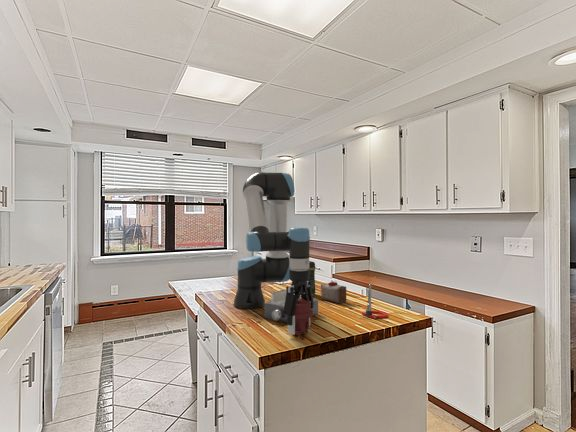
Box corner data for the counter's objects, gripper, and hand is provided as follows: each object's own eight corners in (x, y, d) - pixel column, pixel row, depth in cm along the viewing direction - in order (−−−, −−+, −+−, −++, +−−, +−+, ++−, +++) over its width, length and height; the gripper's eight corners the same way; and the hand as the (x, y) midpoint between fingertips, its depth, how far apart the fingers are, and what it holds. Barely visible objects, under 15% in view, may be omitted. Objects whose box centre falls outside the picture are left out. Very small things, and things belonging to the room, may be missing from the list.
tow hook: (376, 312, 149) (360, 314, 144) (377, 281, 149) (361, 283, 144) (392, 317, 141) (375, 320, 136) (393, 285, 141) (376, 286, 136)
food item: (318, 299, 171) (318, 280, 171) (328, 297, 176) (328, 278, 176) (338, 304, 160) (338, 284, 160) (348, 302, 166) (348, 282, 166)
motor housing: (260, 319, 137) (260, 296, 137) (288, 308, 154) (288, 287, 154) (291, 326, 128) (291, 302, 128) (318, 313, 145) (318, 292, 145)
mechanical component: (314, 329, 125) (310, 338, 115) (288, 327, 127) (283, 336, 117) (314, 296, 125) (310, 303, 115) (288, 295, 127) (283, 302, 117)
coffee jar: (317, 294, 182) (317, 261, 182) (306, 296, 177) (306, 262, 177) (307, 291, 189) (307, 259, 190) (296, 293, 185) (296, 260, 185)
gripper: (290, 274, 110) (290, 341, 109) (322, 266, 128) (322, 323, 128) (272, 272, 114) (272, 336, 114) (306, 264, 132) (306, 319, 132)
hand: (299, 329), depth 121 cm, fingers closed on mechanical component, 10 cm apart
